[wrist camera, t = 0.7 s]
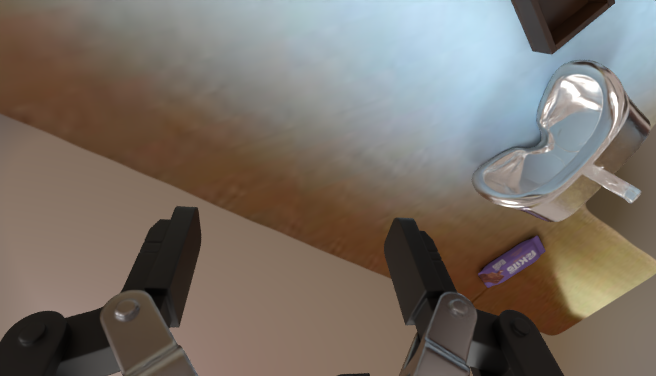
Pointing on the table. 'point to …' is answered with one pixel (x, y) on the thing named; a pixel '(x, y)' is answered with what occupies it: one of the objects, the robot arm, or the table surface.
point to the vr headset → (569, 146)
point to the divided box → (556, 20)
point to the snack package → (512, 262)
